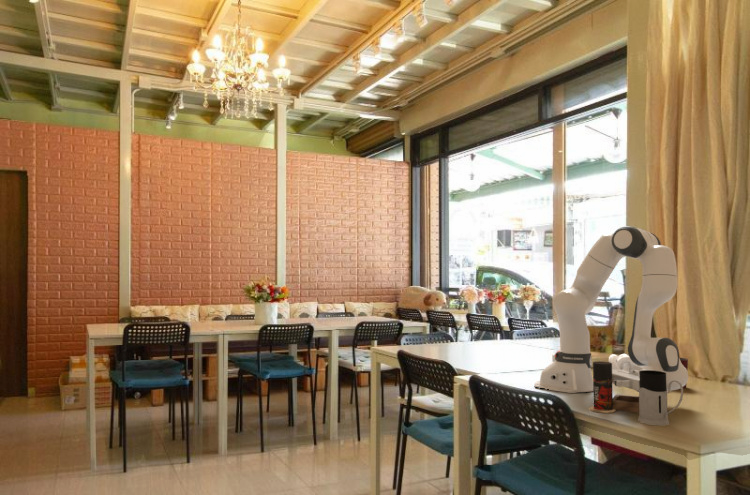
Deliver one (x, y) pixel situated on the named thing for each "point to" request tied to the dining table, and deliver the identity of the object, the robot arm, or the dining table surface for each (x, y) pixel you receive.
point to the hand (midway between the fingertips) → (606, 381)
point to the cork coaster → (601, 410)
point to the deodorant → (602, 386)
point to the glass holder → (654, 397)
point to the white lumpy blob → (621, 362)
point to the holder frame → (626, 403)
